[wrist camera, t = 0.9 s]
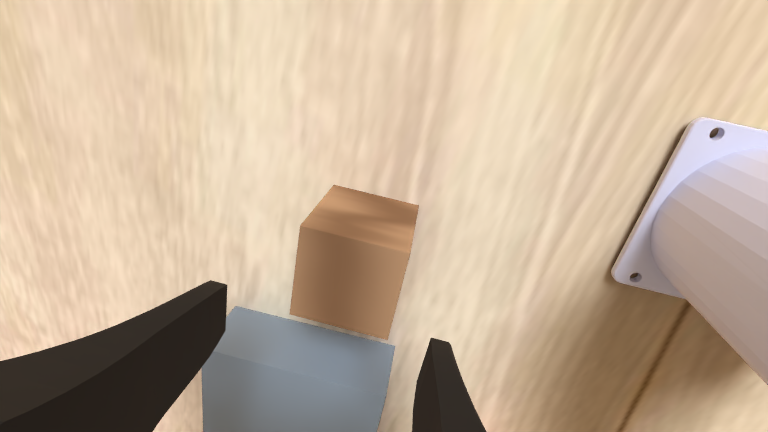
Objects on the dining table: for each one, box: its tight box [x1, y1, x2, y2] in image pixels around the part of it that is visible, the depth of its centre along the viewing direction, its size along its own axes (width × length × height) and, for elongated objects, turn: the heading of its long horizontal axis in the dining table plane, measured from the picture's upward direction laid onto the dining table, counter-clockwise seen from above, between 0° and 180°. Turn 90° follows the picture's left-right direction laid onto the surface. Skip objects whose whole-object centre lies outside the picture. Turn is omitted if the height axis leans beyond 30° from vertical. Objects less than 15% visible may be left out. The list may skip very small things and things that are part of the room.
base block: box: [202, 306, 395, 432], centre depth 24 cm, size 10×10×4 cm
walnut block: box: [290, 185, 419, 340], centre depth 18 cm, size 4×4×5 cm
